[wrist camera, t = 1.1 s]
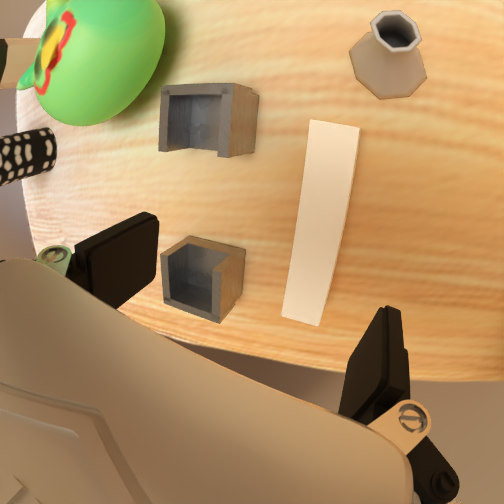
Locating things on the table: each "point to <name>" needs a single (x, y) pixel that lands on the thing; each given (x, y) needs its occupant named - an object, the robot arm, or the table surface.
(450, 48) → the table surface
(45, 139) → the white-spotted black cylinder
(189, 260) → the bracket
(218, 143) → the bracket
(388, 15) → the flask
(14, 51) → the wine bottle
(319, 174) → the rail
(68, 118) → the toy bird
